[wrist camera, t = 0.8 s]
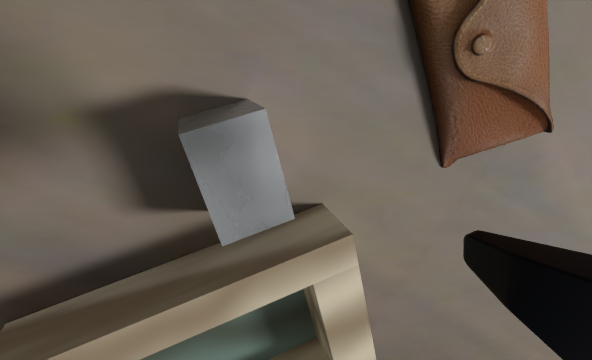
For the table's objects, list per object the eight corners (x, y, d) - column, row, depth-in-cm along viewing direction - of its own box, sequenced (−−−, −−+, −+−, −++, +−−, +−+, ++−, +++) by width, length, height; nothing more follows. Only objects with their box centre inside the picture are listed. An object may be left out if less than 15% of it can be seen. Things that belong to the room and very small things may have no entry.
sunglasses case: (371, -93, 17) (520, -188, 13) (418, -107, 21) (545, -184, 17) (442, 176, 25) (550, 178, 21) (467, 130, 29) (562, 122, 25)
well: (352, 337, 28) (380, 383, 24) (112, 453, 24) (98, 532, 20) (322, 203, 23) (352, 234, 19) (5, 323, 19) (-43, 396, 15)
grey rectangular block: (273, 189, 21) (295, 218, 17) (214, 210, 20) (222, 246, 16) (247, 98, 19) (265, 108, 15) (178, 118, 18) (178, 134, 14)
